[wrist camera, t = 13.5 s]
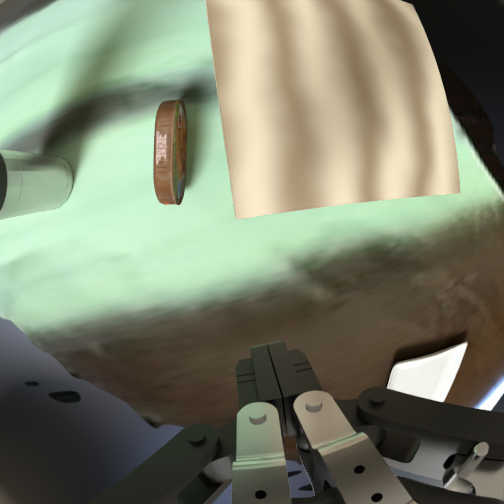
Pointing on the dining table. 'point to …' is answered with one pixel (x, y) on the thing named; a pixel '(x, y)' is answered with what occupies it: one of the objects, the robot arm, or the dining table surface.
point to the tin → (170, 152)
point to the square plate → (428, 373)
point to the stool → (328, 104)
